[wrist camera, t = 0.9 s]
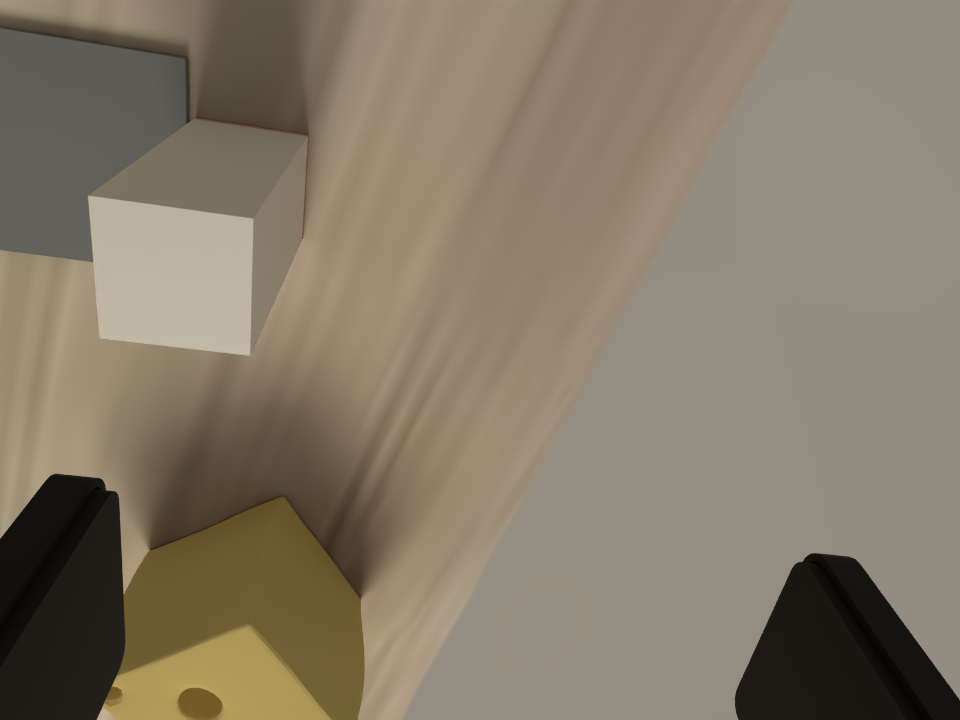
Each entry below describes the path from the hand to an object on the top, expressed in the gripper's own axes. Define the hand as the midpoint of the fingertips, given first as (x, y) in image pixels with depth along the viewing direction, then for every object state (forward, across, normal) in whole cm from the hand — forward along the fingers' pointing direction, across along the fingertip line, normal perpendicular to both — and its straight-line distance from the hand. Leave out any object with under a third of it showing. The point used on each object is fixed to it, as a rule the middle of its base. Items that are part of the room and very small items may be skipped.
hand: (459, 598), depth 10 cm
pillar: (+28, +9, +2) cm, 29 cm away
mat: (+28, +18, +2) cm, 33 cm away
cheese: (+29, +8, +27) cm, 41 cm away
